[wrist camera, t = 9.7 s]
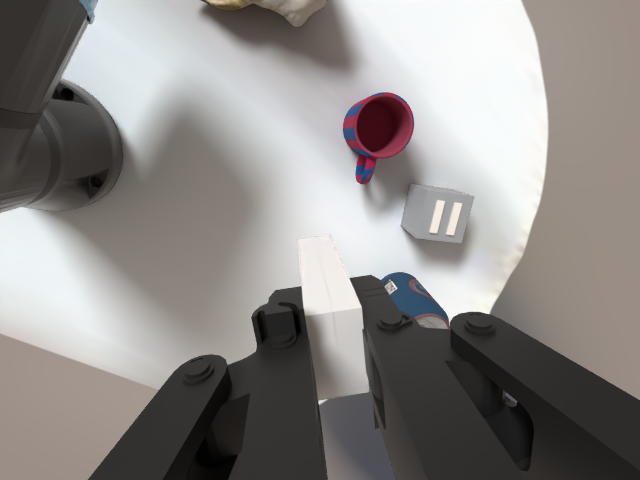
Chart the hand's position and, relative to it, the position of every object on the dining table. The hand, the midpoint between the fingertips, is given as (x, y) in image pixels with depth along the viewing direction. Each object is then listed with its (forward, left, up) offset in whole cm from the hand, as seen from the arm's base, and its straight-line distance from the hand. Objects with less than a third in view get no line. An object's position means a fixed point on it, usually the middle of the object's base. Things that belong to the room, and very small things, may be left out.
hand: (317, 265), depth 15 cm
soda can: (+12, -18, -30) cm, 37 cm away
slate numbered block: (+17, -6, -30) cm, 35 cm away
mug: (+9, +4, -30) cm, 31 cm away
